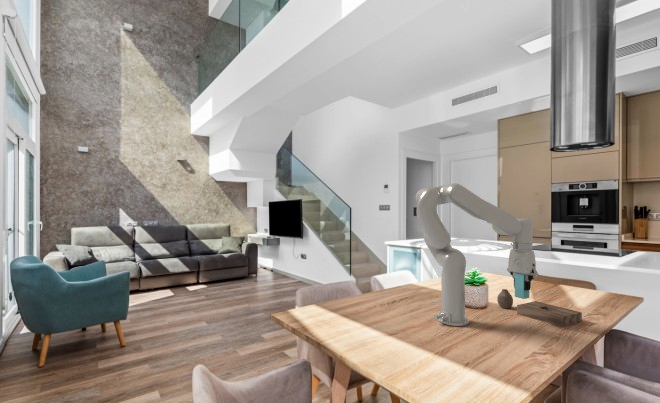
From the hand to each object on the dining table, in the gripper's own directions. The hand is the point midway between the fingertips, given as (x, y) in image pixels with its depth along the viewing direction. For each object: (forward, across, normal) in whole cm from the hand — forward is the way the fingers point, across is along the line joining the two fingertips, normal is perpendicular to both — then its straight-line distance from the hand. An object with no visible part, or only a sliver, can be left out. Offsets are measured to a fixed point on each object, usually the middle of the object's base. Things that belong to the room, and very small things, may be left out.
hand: (522, 288), depth 148 cm
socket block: (+14, +2, +15) cm, 20 cm away
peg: (+4, 0, 0) cm, 4 cm away
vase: (+14, -17, +12) cm, 25 cm away
